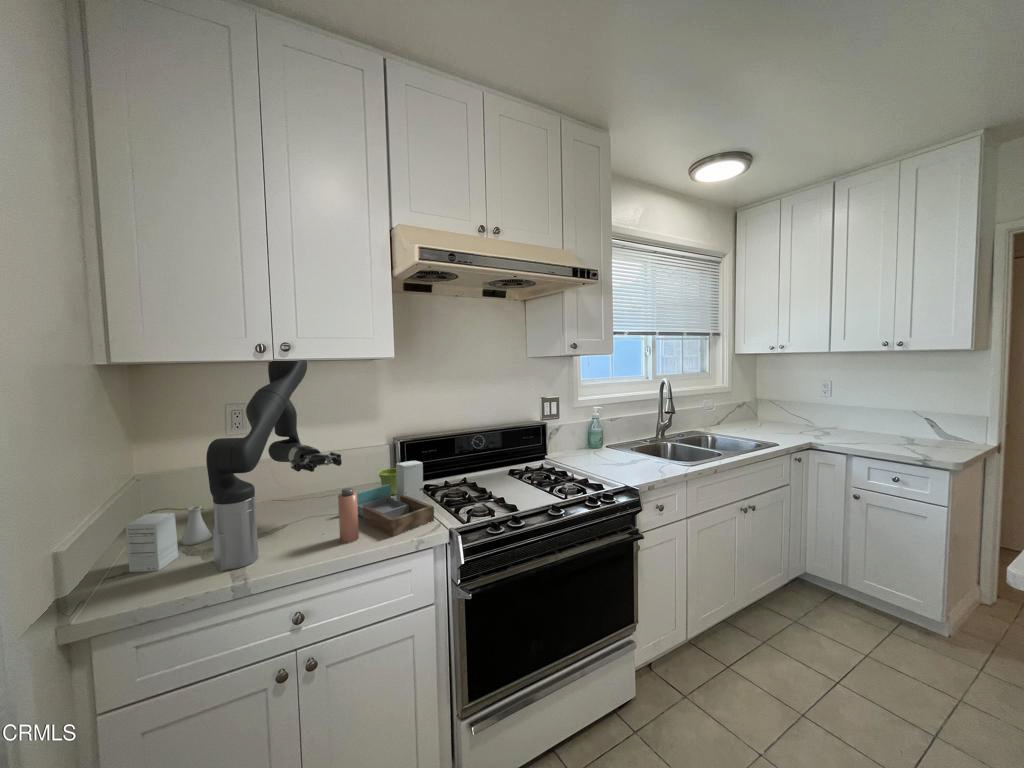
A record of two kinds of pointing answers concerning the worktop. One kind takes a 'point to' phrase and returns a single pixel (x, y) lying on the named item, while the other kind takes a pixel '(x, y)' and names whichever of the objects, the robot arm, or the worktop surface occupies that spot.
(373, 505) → the tray
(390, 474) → the plant pot
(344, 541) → the bottle
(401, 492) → the skincare box
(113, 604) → the worktop surface
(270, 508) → the worktop surface
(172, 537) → the supplement box
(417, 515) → the wooden storage box
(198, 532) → the flask
